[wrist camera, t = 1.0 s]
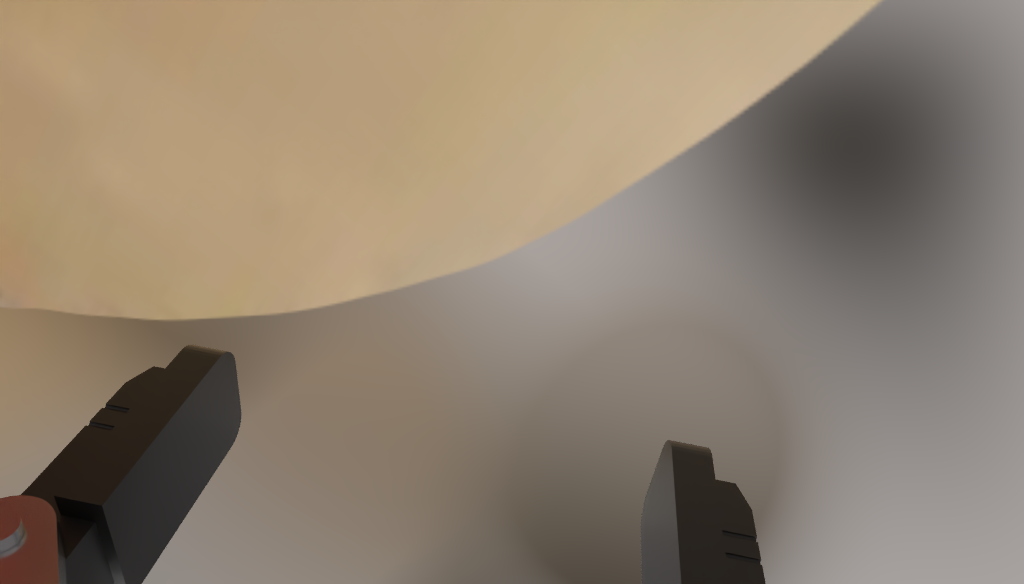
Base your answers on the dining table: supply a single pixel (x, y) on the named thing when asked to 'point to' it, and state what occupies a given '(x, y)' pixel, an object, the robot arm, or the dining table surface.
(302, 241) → the dining table surface
